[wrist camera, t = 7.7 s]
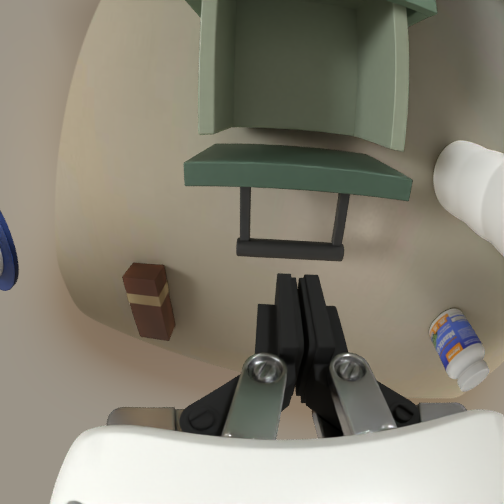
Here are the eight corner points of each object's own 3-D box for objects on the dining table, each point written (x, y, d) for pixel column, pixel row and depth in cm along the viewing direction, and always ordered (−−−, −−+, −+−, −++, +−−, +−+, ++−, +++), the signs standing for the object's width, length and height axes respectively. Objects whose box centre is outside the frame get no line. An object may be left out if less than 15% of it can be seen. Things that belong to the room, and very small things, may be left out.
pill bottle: (436, 309, 26) (470, 370, 18) (467, 304, 26) (501, 359, 17) (422, 340, 29) (447, 400, 20) (452, 335, 28) (479, 389, 20)
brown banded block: (147, 321, 30) (139, 336, 27) (132, 262, 26) (121, 277, 23) (176, 324, 30) (169, 341, 27) (164, 264, 26) (155, 280, 23)
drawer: (354, 234, 22) (384, 290, 15) (216, 226, 22) (192, 281, 16) (370, 10, 13) (413, -26, 6) (218, -3, 13) (191, -50, 6)
